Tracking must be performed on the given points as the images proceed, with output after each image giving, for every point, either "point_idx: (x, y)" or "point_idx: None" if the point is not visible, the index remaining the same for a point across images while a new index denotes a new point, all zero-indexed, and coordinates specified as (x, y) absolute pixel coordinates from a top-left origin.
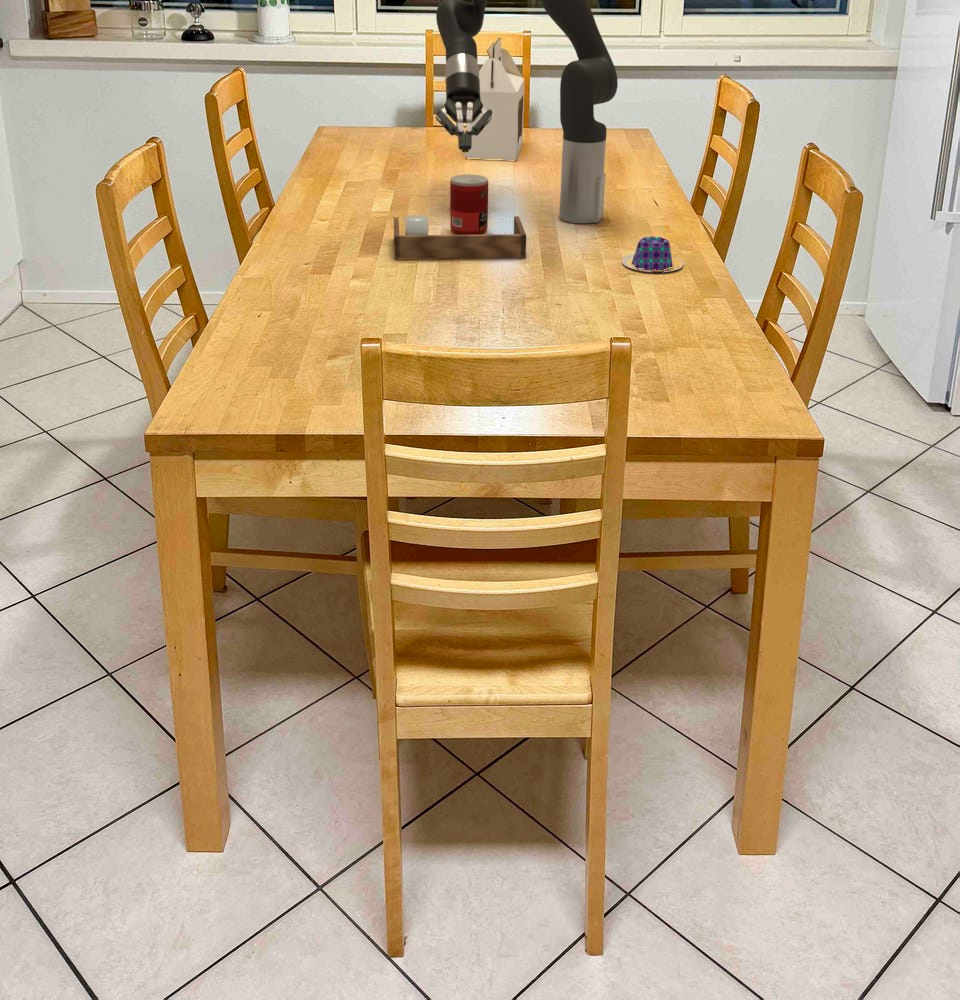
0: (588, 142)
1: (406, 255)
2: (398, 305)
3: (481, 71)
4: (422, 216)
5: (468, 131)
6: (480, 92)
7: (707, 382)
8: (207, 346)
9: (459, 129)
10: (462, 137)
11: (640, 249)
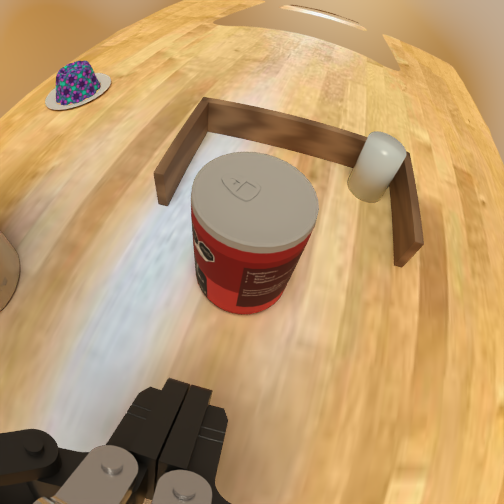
0: None
1: None
2: (378, 88)
3: None
4: (378, 149)
5: (124, 450)
6: None
7: (209, 5)
8: (474, 104)
9: (201, 493)
10: (193, 433)
11: (92, 70)
